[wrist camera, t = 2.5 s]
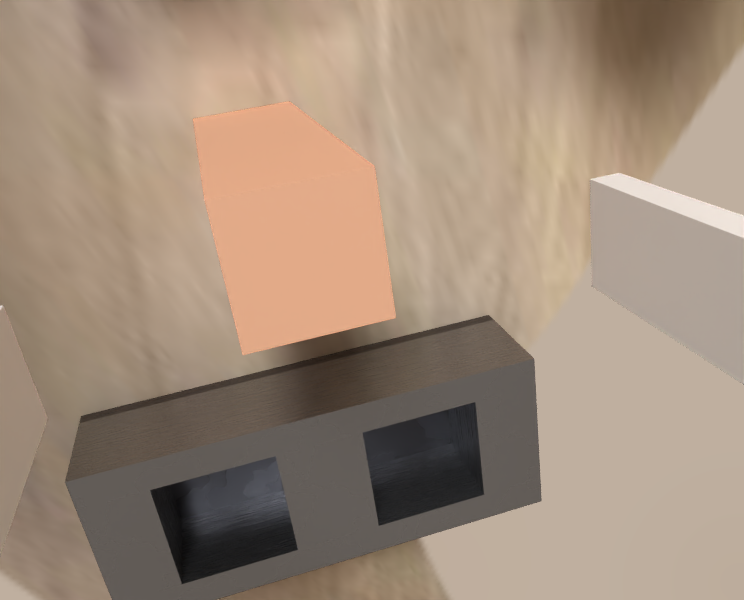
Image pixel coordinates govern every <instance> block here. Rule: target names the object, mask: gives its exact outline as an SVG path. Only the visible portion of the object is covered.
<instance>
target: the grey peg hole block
mask: <svg viewBox="0 0 744 600" xmlns="http://www.w3.org/2000/svg"><path fill="white" fill-rule="evenodd" d="M537 426H538V424H537V405H536V385H535V366H534V358H533V357H532V356H531V355H530V354H529V353H528V352H527V351H526V350H525V349H523V348H522V347H521V346H520V345H519V344H518V343H517V342H516V341H515V340H514V339H513V338H512V337H511V336H510V335H509V334H508V333H507V332H506V331H505V330H504V329H503V328H502V327H501V326H500V325H498V324H497V323H496V322H495V321H494V320H493V319H492V318H491V317H490V316H489V315H487V316H483V317H479V318H475V319H471V320H467V321H463V322H459V323H455V324H451V325H447V326H443V327H439V328H435V329H431V330H427V331H423V332H419V333H415V334H411V335H407V336H403V337H399V338H395V339H391V340H387V341H383V342H379V343H375V344H370V345H366V346H362V347H358V348H354V349H350V350H346V351H342V352H338V353H334V354H330V355H326V356H322V357H318V358H314V359H310V360H306V361H302V362H298V363H294V364H290V365H286V366H282V367H278V368H274V369H270V370H266V371H262V372H258V373H254V374H250V375H246V376H242V377H237V378H233V379H229V380H225V381H221V382H217V383H213V384H209V385H205V386H201V387H197V388H193V389H189V390H185V391H181V392H177V393H173V394H169V395H165V396H161V397H157V398H153V399H149V400H145V401H141V402H137V403H133V404H129V405H125V406H121V407H117V408H113V409H109V410H105V411H100V412H96V413H92V414H88V415H84V416H81V419H80V423H79V427H78V431H77V435H76V439H75V443H74V448H73V452H72V456H71V460H70V464H69V468H68V472H67V476H66V480H65V483H66V486H67V488H68V491H69V493H70V496H71V498H72V501H73V503H74V506H75V508H76V511H77V513H78V516H79V518H80V521H81V523H82V526H83V528H84V531H85V533H86V536H87V538H88V541H89V543H90V546H91V548H92V551H93V553H94V556H95V558H96V561H97V563H98V566H99V568H100V571H101V573H102V576H103V578H104V581H105V583H106V586H107V588H108V591H109V593H110V596H111V598H112V600H216V599H220V598H223V597H226V596H229V595H233V594H236V593H239V592H243V591H246V590H249V589H253V588H256V587H259V586H262V585H266V584H269V583H272V582H276V581H279V580H282V579H286V578H289V577H292V576H295V575H299V574H302V573H305V572H309V571H312V570H315V569H319V568H322V567H325V566H329V565H332V564H335V563H338V562H342V561H345V560H348V559H352V558H355V557H358V556H362V555H365V554H368V553H371V552H375V551H378V550H381V549H385V548H388V547H391V546H395V545H398V544H401V543H404V542H408V541H411V540H414V539H418V538H421V537H424V536H428V535H431V534H434V533H437V532H441V531H444V530H447V529H451V528H454V527H457V526H460V525H464V524H467V523H471V522H474V521H477V520H480V519H484V518H487V517H490V516H494V515H497V514H500V513H503V512H507V511H510V510H513V509H517V508H520V507H523V506H527V505H530V504H533V503H537V502H540V501H541V484H540V463H539V444H538V427H537Z"/></svg>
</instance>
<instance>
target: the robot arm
mask: <svg viewBox="0 0 744 600" xmlns="http://www.w3.org/2000/svg"><path fill="white" fill-rule="evenodd" d="M590 214H591V272H592V287H593V288H595V289H596V290H598V291H599V292H601V293H603V294H604V295H606V296H607V297H609V298H611V299H612V300H613V301H615V302H617V303H618V304H620V305H621V306H623V307H624V308H626V309H627V310H629V311H631V312H632V313H634V314H635V315H637V316H638V317H640V318H641V319H643V320H644V321H646V322H648V323H649V324H651V325H652V326H654V327H655V328H657V329H658V330H660V331H661V332H663V333H665V334H666V335H668V336H669V337H671V338H672V339H674V340H675V341H677V342H678V343H680V344H682V345H683V346H685V347H686V348H688V349H689V350H691V351H692V352H694V353H696V354H697V355H699V356H700V357H702V358H703V359H705V360H706V361H708V362H709V363H711V364H713V365H714V366H716V367H717V368H719V369H720V370H722V371H723V372H725V373H727V374H728V375H730V376H731V377H733V378H734V379H736V380H737V381H739V382H740V383H742V384H744V215H741V214H737V213H735V212H732V211H729V210H726V209H723V208H720V207H717V206H714V205H711V204H708V203H706V202H703V201H700V200H697V199H694V198H691V197H688V196H685V195H682V194H679V193H676V192H673V191H671V190H668V189H665V188H662V187H659V186H656V185H653V184H650V183H647V182H644V181H641V180H638V179H636V178H633V177H630V176H627V175H624V174H621V173H616V174H612V175H607V176H603V177H598V178H593V179H590ZM47 421H48V418H47V415H46V413H45V410H44V408H43V405H42V403H41V400H40V397H39V395H38V392H37V390H36V387H35V385H34V382H33V379H32V377H31V374H30V372H29V369H28V367H27V364H26V362H25V359H24V356H23V354H22V351H21V349H20V346H19V344H18V341H17V339H16V336H15V333H14V331H13V328H12V326H11V323H10V321H9V318H8V316H7V313H6V310H5V308H4V305H3V306H0V555H1V553H2V550H3V547H4V544H5V541H6V538H7V535H8V533H9V530H10V527H11V524H12V521H13V518H14V515H15V512H16V510H17V507H18V504H19V501H20V498H21V495H22V492H23V489H24V487H25V484H26V481H27V478H28V475H29V472H30V469H31V466H32V464H33V461H34V458H35V455H36V452H37V449H38V446H39V444H40V441H41V438H42V435H43V432H44V429H45V426H46V423H47Z"/></svg>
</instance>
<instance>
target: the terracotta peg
mask: <svg viewBox="0 0 744 600" xmlns="http://www.w3.org/2000/svg"><path fill="white" fill-rule="evenodd" d="M193 123H194V130H195V137H196V144H197V151H198V158H199V165H200V172H201V179H202V186H203V193H204V200H205V204H206V208H207V212H208V217H209V221H210V225H211V229H212V233H213V237H214V241H215V245H216V249H217V253H218V257H219V261H220V265H221V269H222V273H223V277H224V281H225V285H226V289H227V293H228V297H229V301H230V306H231V310H232V314H233V318H234V322H235V326H236V330H237V334H238V338H239V342H240V346H241V350H242V354H243V355H246V354H250V353H254V352H258V351H262V350H266V349H270V348H275V347H279V346H283V345H287V344H291V343H295V342H299V341H303V340H307V339H312V338H316V337H320V336H324V335H328V334H332V333H336V332H340V331H345V330H349V329H353V328H357V327H361V326H365V325H369V324H373V323H377V322H382V321H386V320H390V319H394V318H396V314H395V307H394V300H393V293H392V286H391V279H390V272H389V265H388V257H387V250H386V243H385V236H384V229H383V222H382V215H381V208H380V200H379V193H378V186H377V179H376V172H375V166H374V165H372V164H371V163H370V162H368V161H367V160H366V159H365V158H363V157H362V156H361V155H359V154H358V153H357V152H355V151H354V150H353V149H351V148H350V147H349V146H347V145H346V144H345V143H343V142H342V141H341V140H340V139H338V138H337V137H336V136H334V135H333V134H332V133H330V132H329V131H328V130H326V129H325V128H324V127H322V126H321V125H320V124H319V123H317V122H316V121H315V120H313V119H312V118H311V117H309V116H308V115H307V114H305V113H304V112H303V111H301V110H300V109H299V108H297V107H296V106H295V105H294V104H292V103H291V102H290V101H289V102H283V103H277V104H272V105H266V106H261V107H255V108H250V109H244V110H239V111H233V112H228V113H222V114H216V115H211V116H205V117H200V118H194V119H193Z"/></svg>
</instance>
